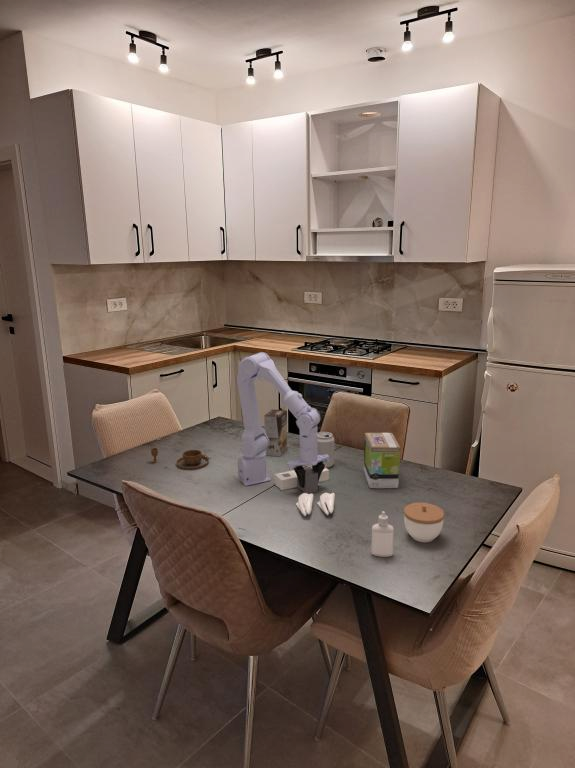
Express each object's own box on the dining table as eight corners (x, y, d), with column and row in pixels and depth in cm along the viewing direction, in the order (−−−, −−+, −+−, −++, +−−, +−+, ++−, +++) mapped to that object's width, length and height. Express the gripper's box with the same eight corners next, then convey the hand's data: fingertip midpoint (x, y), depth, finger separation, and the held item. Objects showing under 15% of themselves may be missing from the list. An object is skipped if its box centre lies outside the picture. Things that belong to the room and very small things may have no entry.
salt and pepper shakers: (296, 502, 175) (293, 520, 164) (296, 490, 174) (293, 507, 163) (334, 504, 174) (333, 522, 163) (334, 492, 173) (333, 509, 162)
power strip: (281, 490, 183) (281, 478, 182) (274, 484, 188) (274, 472, 187) (328, 479, 191) (329, 468, 190) (320, 474, 196) (321, 462, 195)
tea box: (399, 488, 184) (401, 446, 180) (369, 489, 184) (370, 447, 180) (390, 470, 198) (392, 431, 194) (362, 470, 198) (363, 431, 194)
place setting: (186, 477, 196) (185, 461, 194) (148, 464, 207) (147, 449, 206) (220, 461, 210) (219, 446, 208) (183, 450, 221) (182, 436, 220)
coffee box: (280, 457, 212) (279, 417, 208) (264, 455, 214) (263, 415, 210) (287, 448, 220) (287, 410, 216) (272, 447, 222) (271, 408, 218)
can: (334, 469, 200) (335, 437, 197) (313, 469, 200) (313, 437, 197) (333, 461, 207) (333, 430, 204) (313, 461, 207) (313, 430, 204)
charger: (305, 494, 180) (305, 475, 179) (293, 484, 188) (293, 466, 186) (317, 491, 182) (318, 473, 180) (305, 481, 190) (305, 463, 188)
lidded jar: (420, 523, 161) (421, 493, 158) (450, 538, 152) (453, 507, 150) (394, 534, 155) (396, 504, 152) (425, 551, 146) (426, 519, 144)
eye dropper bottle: (387, 560, 142) (389, 518, 139) (368, 553, 145) (369, 512, 142) (395, 553, 145) (397, 511, 142) (376, 546, 149) (377, 505, 146)
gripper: (294, 454, 173) (294, 494, 176) (334, 446, 179) (333, 485, 182) (284, 447, 179) (284, 485, 182) (323, 439, 185) (323, 477, 188)
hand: (308, 485), depth 183 cm, fingers closed on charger, 4 cm apart
